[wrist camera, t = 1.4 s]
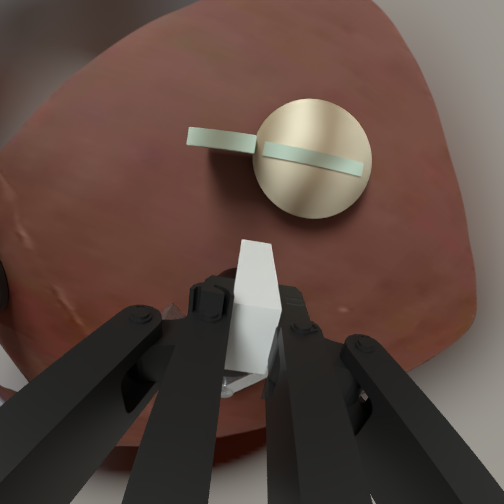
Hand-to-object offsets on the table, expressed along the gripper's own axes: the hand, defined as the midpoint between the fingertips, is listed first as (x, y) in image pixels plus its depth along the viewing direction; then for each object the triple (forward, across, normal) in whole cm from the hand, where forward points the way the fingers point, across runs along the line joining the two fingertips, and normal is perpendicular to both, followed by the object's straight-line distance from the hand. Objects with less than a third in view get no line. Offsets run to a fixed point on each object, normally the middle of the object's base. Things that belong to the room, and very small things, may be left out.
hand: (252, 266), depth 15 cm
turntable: (+15, +2, +6) cm, 16 cm away
